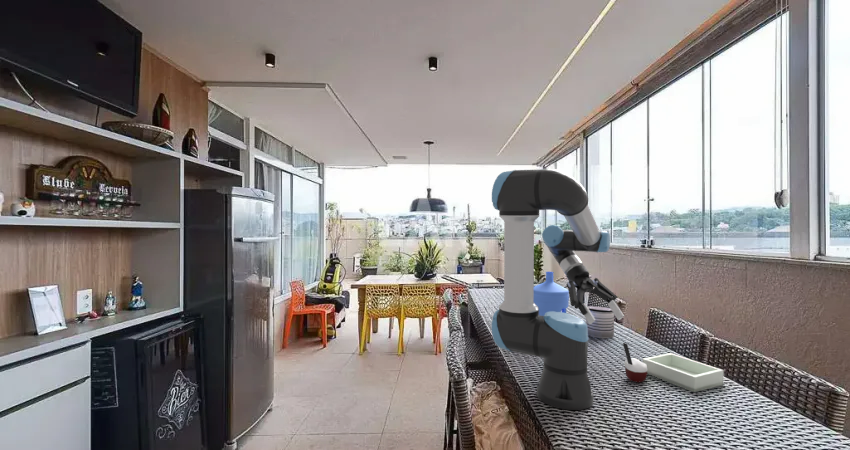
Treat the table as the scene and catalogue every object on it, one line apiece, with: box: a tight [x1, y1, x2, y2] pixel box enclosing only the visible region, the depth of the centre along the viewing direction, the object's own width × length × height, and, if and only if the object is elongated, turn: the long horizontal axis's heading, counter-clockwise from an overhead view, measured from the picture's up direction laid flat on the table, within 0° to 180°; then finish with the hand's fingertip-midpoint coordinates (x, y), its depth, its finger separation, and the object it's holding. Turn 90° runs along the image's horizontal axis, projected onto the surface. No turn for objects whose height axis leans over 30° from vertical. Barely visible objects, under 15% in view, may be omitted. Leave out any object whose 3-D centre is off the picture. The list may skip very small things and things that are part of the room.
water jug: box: [534, 271, 570, 316], centre depth 172 cm, size 16×16×28 cm
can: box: [585, 305, 615, 339], centre depth 179 cm, size 11×11×12 cm
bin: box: [642, 352, 725, 393], centre depth 131 cm, size 14×17×4 cm
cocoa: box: [622, 342, 648, 383], centre depth 129 cm, size 10×6×12 cm, turn 88°
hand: (607, 320), depth 139 cm, fingers open, 13 cm apart
